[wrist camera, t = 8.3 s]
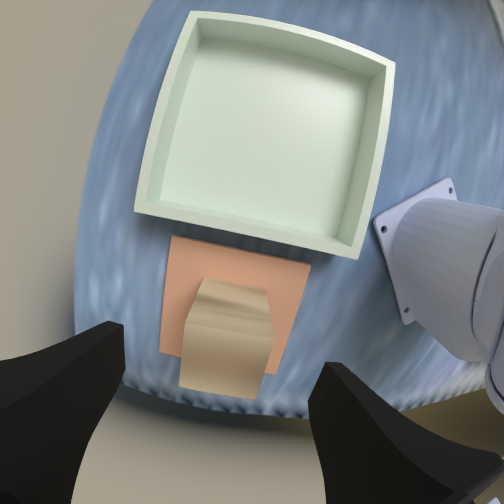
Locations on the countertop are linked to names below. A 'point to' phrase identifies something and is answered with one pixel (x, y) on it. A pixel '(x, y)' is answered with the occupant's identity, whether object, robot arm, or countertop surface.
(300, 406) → the countertop surface
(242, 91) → the pale green bin
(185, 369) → the birch block
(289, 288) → the terracotta tile
